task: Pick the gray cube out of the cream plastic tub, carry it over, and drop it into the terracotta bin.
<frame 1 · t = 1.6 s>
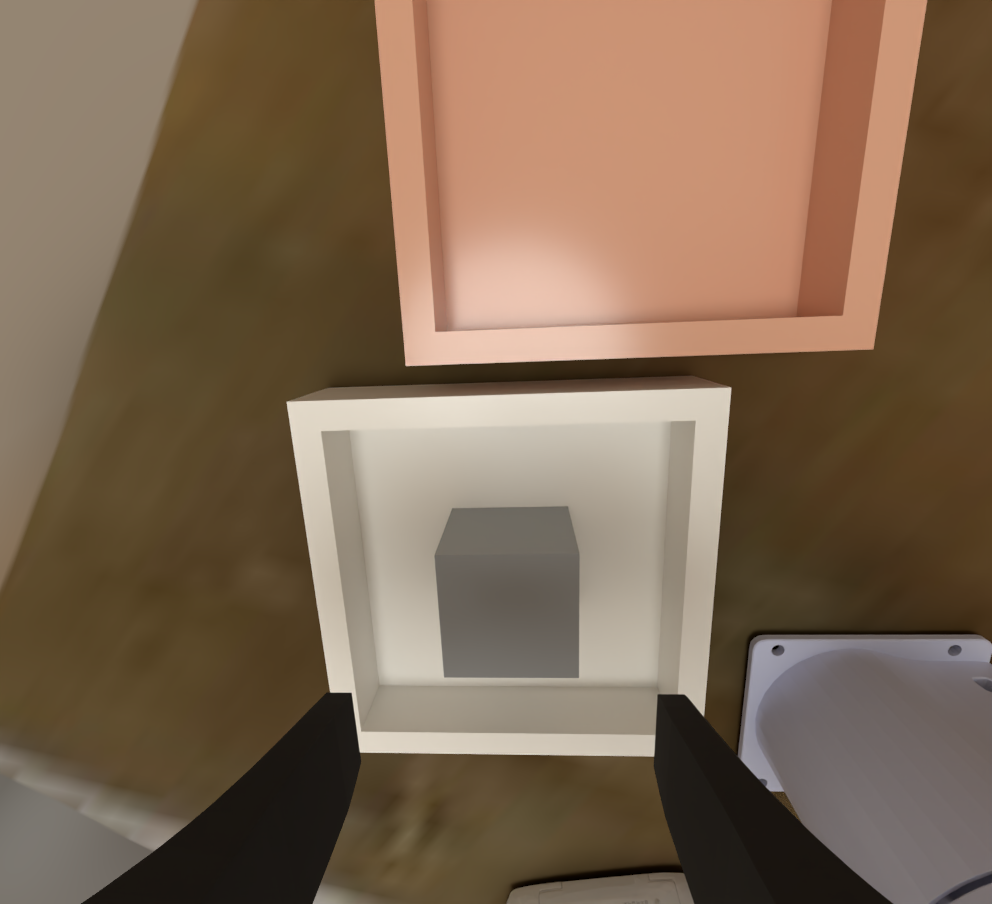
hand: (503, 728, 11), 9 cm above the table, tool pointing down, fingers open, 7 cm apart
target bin: (616, 139, 16), on the table
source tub: (512, 548, 20), on the table
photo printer: (600, 894, 26), on the table
gray cube: (511, 559, 20), point 1 cm above the table, touching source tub
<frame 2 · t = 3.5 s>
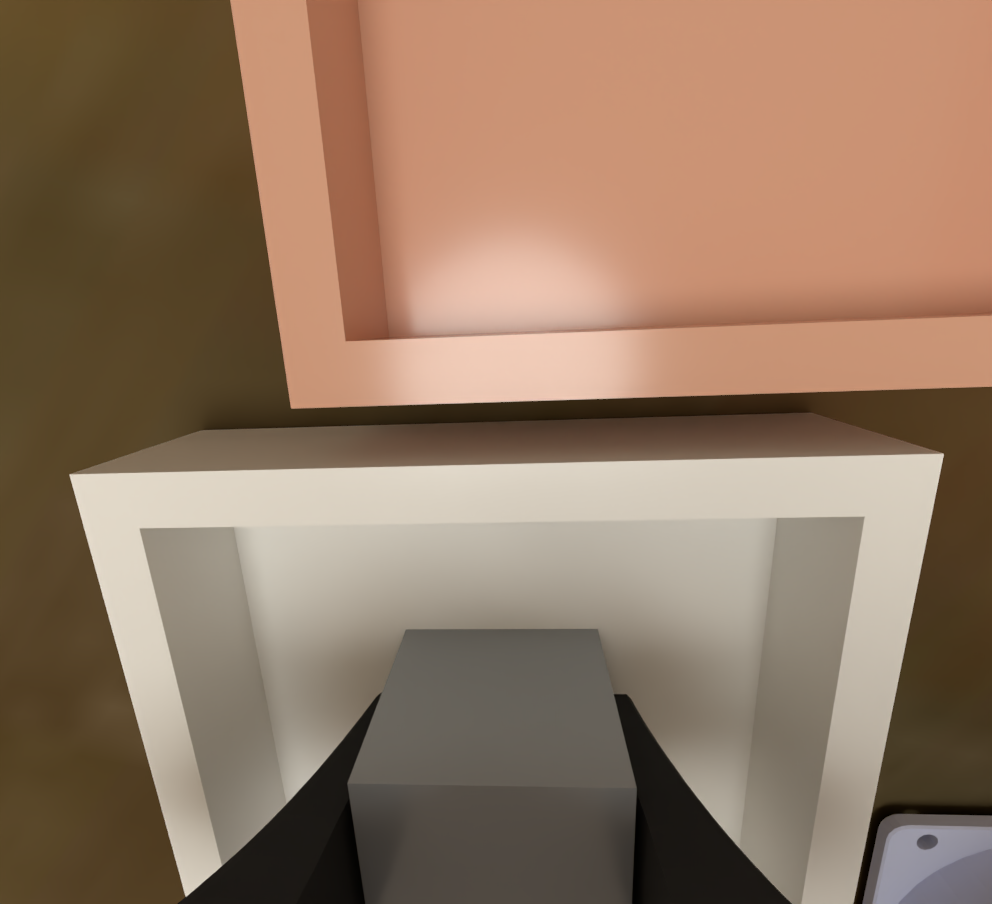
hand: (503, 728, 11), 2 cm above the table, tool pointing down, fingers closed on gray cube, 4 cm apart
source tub: (505, 680, 13), on the table
gray cube: (504, 708, 12), point 1 cm above the table, touching gripper, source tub
when the fingers open (4 cm above the table, at t = 7.5 s): gray cube drops 2 cm, resting on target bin.
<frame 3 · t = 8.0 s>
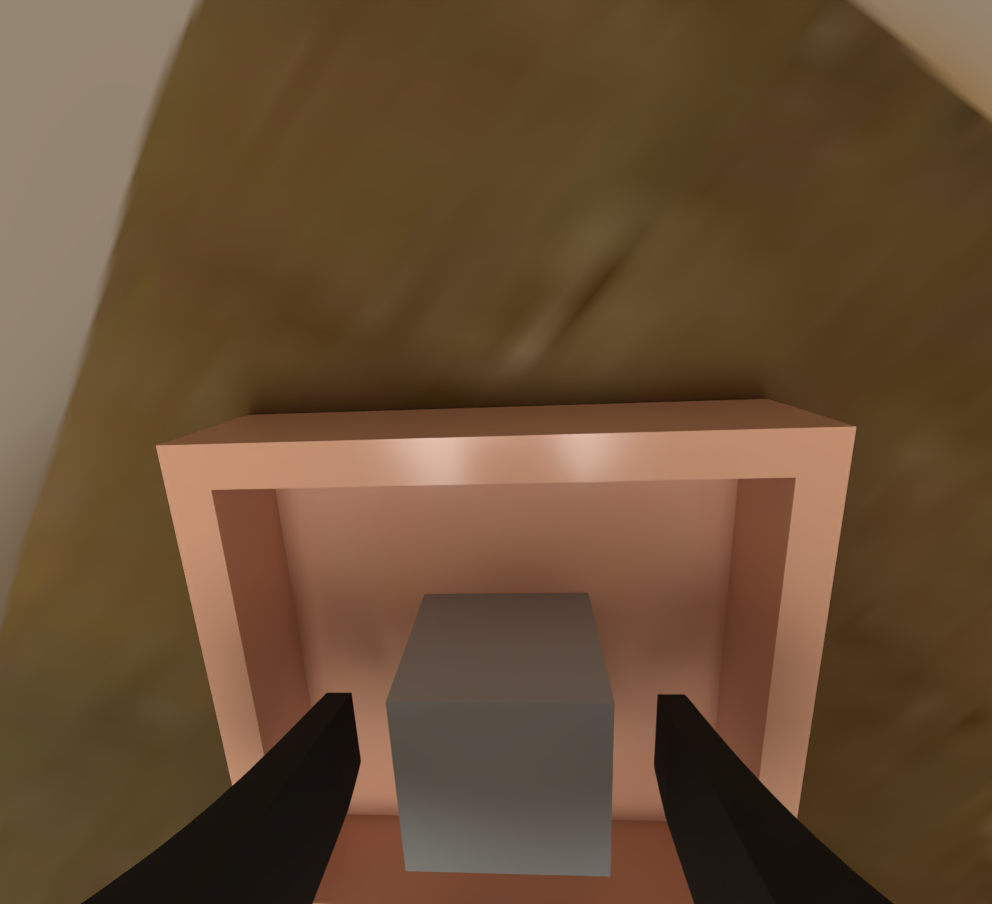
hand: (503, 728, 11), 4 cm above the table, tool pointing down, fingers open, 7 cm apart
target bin: (507, 633, 15), on the table
gray cube: (508, 663, 14), point 1 cm above the table, touching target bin
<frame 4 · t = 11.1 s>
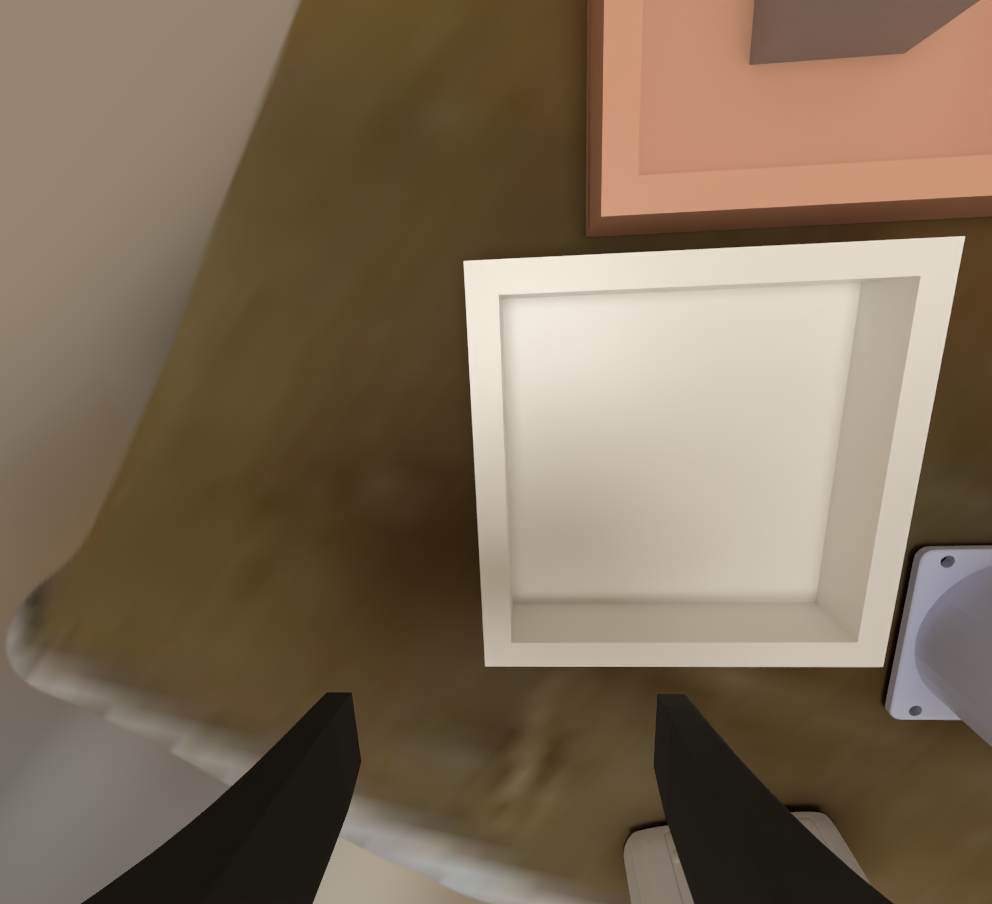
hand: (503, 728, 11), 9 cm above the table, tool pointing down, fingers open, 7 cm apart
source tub: (661, 453, 19), on the table
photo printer: (723, 838, 24), on the table
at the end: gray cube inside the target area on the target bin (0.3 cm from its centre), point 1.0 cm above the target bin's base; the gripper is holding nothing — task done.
